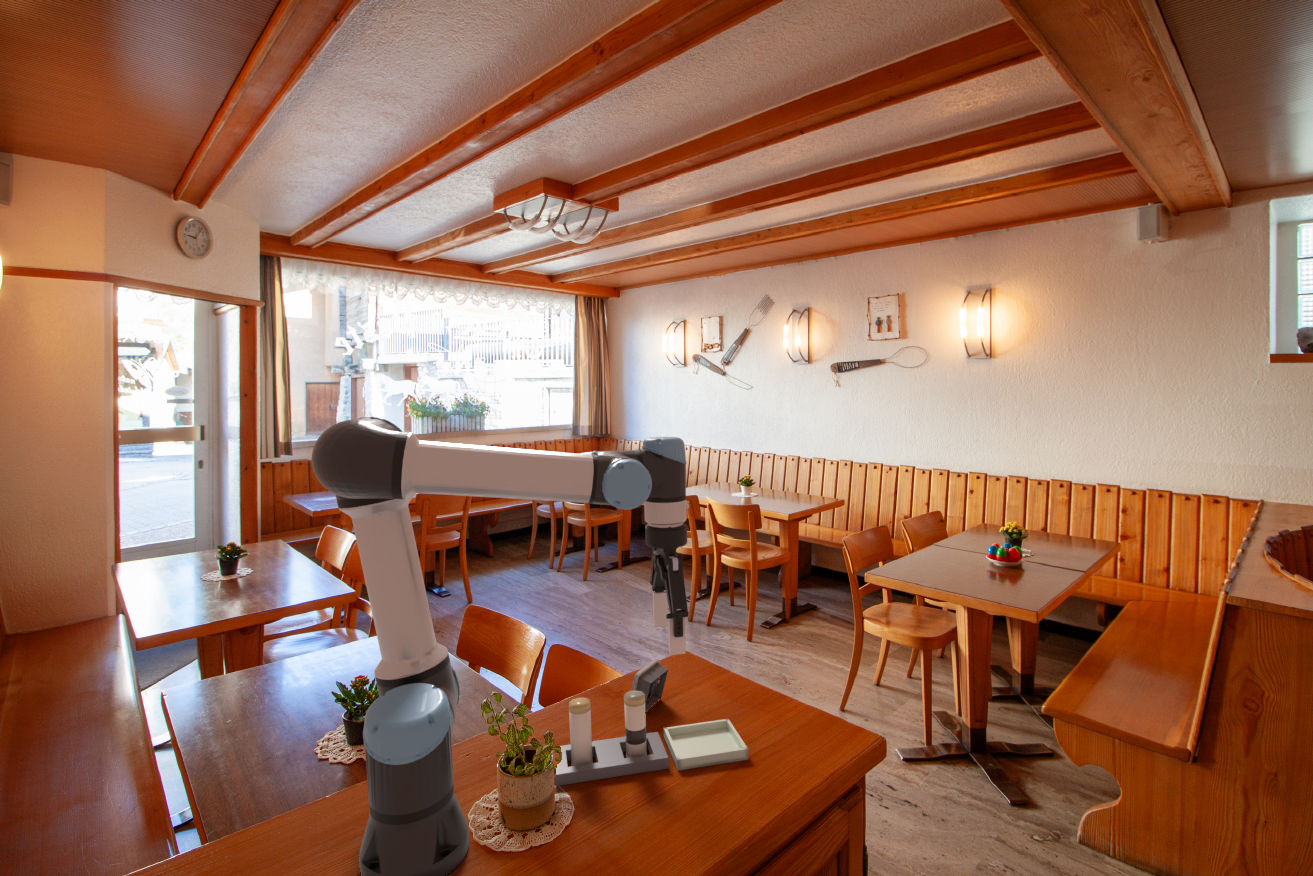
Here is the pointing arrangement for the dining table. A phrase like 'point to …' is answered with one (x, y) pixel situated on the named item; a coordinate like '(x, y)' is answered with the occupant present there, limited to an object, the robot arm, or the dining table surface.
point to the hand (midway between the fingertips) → (668, 639)
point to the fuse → (580, 731)
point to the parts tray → (705, 744)
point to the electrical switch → (650, 682)
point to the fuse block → (612, 761)
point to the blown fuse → (635, 724)
